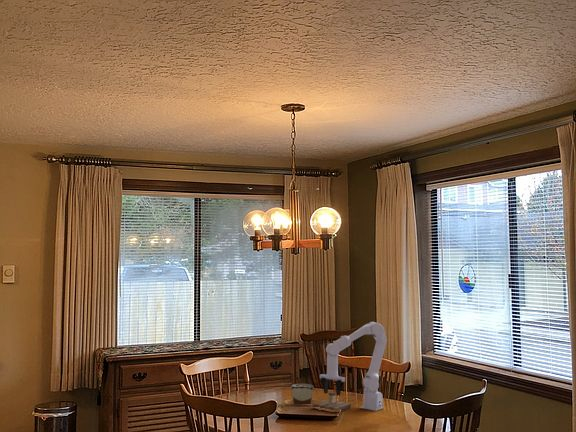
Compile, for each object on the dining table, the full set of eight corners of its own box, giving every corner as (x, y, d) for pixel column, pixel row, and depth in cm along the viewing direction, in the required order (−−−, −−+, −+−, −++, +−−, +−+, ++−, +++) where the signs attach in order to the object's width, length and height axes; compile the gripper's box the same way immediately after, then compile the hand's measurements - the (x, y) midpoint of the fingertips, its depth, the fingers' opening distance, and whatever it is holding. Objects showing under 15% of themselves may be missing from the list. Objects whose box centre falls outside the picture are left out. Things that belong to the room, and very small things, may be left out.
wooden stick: (335, 408, 309) (335, 392, 310) (332, 409, 307) (332, 393, 308) (331, 408, 310) (331, 392, 311) (328, 408, 308) (328, 393, 309)
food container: (314, 403, 321) (314, 384, 322) (313, 405, 315) (314, 386, 316) (291, 402, 323) (291, 383, 324) (290, 404, 316) (290, 385, 317)
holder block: (350, 408, 310) (350, 403, 310) (335, 413, 299) (335, 408, 299) (328, 404, 318) (328, 399, 319) (312, 408, 307) (312, 403, 308)
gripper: (316, 366, 312) (316, 393, 311) (339, 369, 303) (339, 397, 302) (324, 365, 317) (323, 391, 316) (347, 368, 308) (347, 395, 307)
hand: (332, 394), depth 309 cm, fingers open, 7 cm apart
